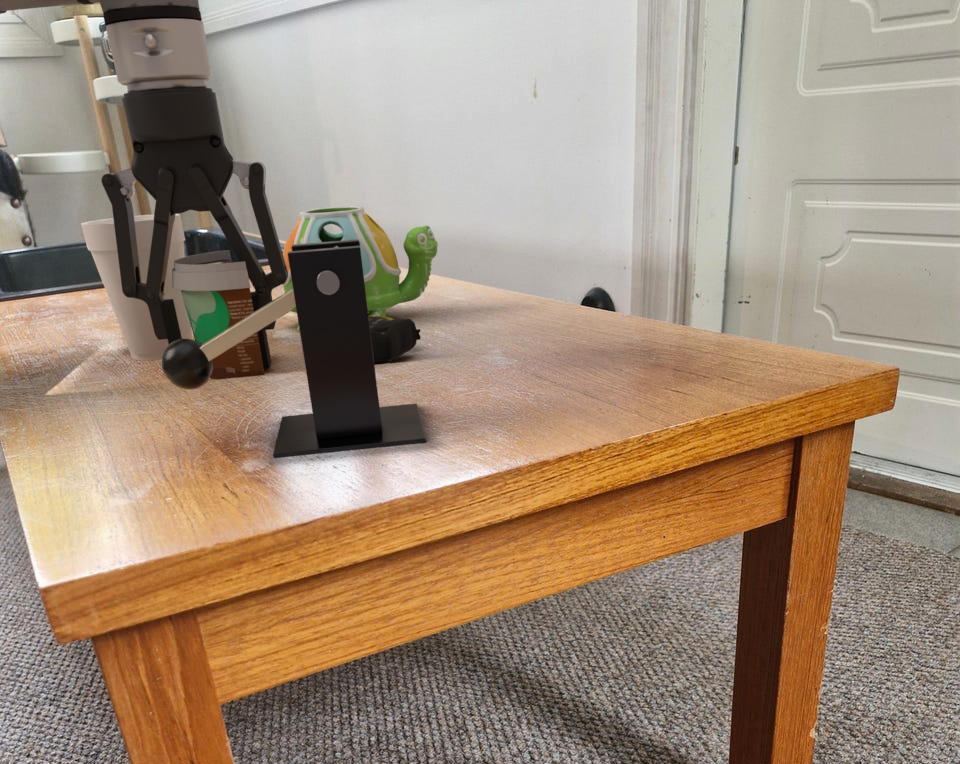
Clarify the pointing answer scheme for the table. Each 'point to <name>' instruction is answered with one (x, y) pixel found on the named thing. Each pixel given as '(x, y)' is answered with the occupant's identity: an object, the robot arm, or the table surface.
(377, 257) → the turtle holder
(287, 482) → the table surface
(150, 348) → the foam cup
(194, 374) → the lever
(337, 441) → the bracket
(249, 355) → the food container
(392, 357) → the tape measure
